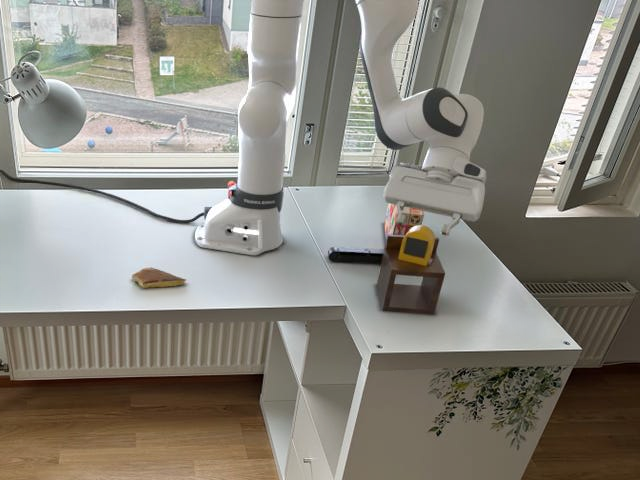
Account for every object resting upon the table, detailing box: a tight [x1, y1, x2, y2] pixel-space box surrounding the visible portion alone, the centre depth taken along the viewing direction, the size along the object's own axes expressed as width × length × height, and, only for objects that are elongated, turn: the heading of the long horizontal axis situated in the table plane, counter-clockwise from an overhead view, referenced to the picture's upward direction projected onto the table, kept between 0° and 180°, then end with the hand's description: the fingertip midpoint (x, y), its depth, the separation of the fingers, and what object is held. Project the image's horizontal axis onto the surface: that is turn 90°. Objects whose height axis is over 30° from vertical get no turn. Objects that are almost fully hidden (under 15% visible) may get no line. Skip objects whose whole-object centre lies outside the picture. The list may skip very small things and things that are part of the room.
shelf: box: [376, 234, 446, 315], centre depth 150 cm, size 11×11×13 cm
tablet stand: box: [327, 246, 384, 265], centre depth 168 cm, size 18×3×3 cm, turn 86°
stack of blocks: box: [384, 203, 425, 240], centre depth 176 cm, size 21×6×12 cm, turn 168°
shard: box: [131, 267, 187, 289], centre depth 157 cm, size 11×8×2 cm
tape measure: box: [398, 224, 436, 266], centre depth 146 cm, size 7×4×7 cm, turn 60°
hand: (421, 229), depth 145 cm, fingers open, 8 cm apart
